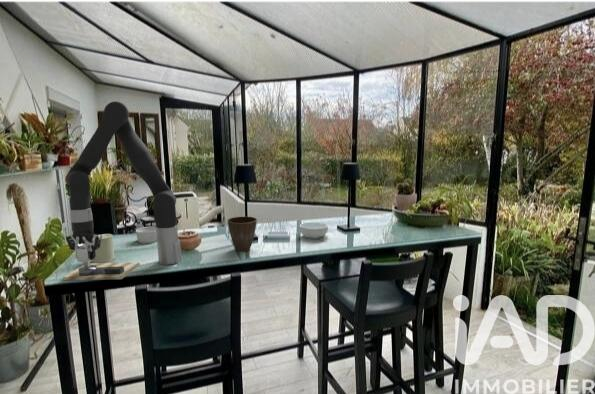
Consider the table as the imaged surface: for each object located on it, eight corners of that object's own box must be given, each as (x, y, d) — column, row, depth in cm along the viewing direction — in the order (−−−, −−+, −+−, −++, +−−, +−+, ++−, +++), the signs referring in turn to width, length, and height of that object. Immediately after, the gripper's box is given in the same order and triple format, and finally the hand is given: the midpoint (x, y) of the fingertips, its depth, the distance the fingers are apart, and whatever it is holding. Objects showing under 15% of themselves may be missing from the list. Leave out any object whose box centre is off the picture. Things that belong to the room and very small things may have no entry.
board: (139, 265, 149) (139, 262, 149) (121, 279, 134) (121, 276, 133) (87, 265, 149) (87, 263, 149) (62, 280, 134) (62, 277, 133)
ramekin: (161, 242, 184) (160, 230, 183) (135, 245, 179) (134, 233, 178) (161, 236, 196) (160, 225, 195) (137, 239, 192) (136, 227, 191)
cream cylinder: (118, 259, 158) (115, 235, 156) (96, 264, 151) (93, 239, 149) (111, 255, 164) (108, 231, 162) (90, 260, 157) (87, 235, 155)
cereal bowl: (328, 241, 184) (329, 228, 183) (299, 241, 184) (299, 229, 183) (326, 233, 200) (326, 221, 199) (299, 233, 201) (299, 221, 200)
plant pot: (253, 243, 180) (252, 215, 177) (260, 251, 166) (259, 221, 164) (226, 247, 175) (225, 217, 172) (231, 255, 161) (230, 224, 158)
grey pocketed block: (95, 258, 139) (94, 244, 138) (88, 261, 134) (87, 247, 133) (84, 258, 139) (83, 244, 138) (77, 261, 134) (75, 247, 133)
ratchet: (126, 269, 141) (125, 254, 140) (118, 275, 134) (117, 259, 133) (85, 270, 141) (83, 255, 139) (75, 276, 134) (73, 260, 133)
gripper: (104, 217, 138) (108, 256, 140) (70, 217, 138) (75, 256, 140) (93, 221, 130) (98, 262, 133) (57, 221, 130) (63, 262, 133)
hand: (86, 259), depth 137 cm, fingers closed on grey pocketed block, 4 cm apart
